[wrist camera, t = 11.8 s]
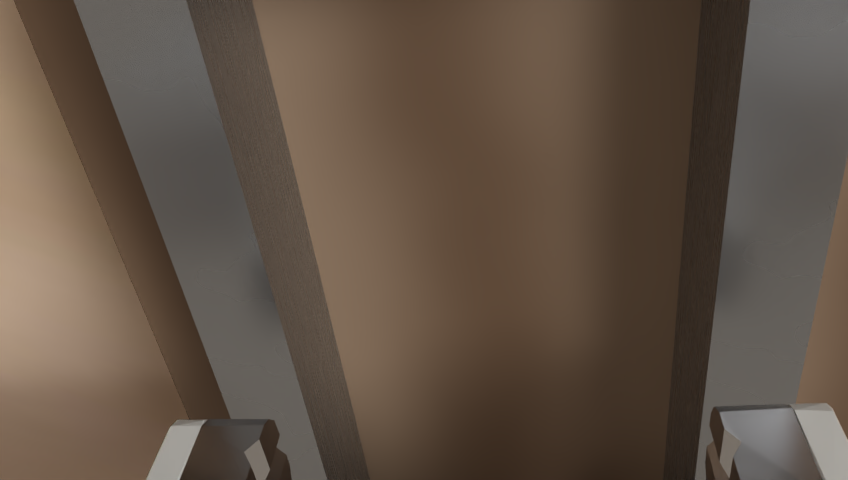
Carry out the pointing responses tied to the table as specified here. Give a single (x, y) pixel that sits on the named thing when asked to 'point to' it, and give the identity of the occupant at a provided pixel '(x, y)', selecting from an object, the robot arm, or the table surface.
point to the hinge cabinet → (473, 219)
